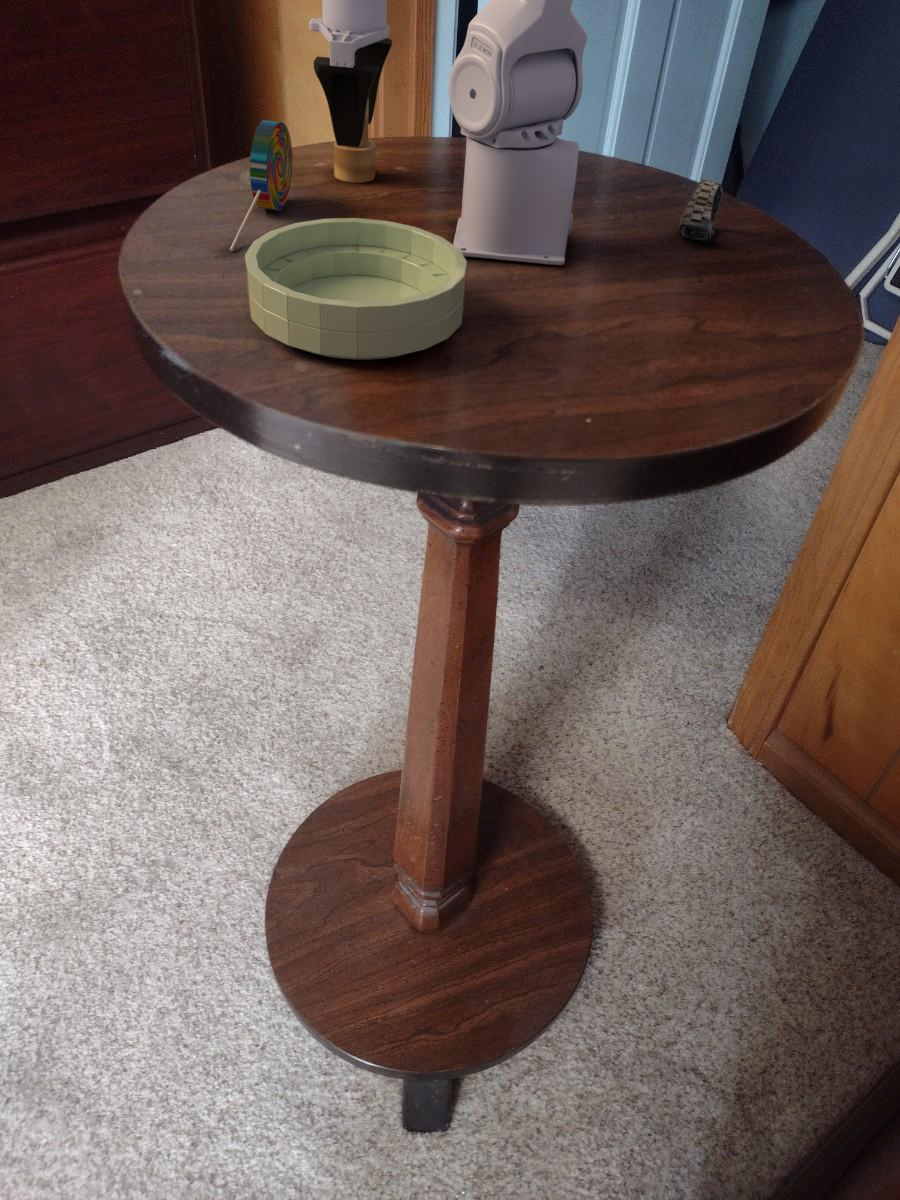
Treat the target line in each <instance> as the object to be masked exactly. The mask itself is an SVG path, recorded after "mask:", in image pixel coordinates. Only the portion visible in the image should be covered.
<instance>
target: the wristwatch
mask: <svg viewBox="0 0 900 1200" xmlns="http://www.w3.org/2000/svg"><path fill="white" fill-rule="evenodd" d="M722 185H723V184H722V182H717V181H713V180H708V179H707V178H703V179H701V181H700V183H699V184H698V186H697V187H696V189H695V191H694V193H693V194H692V196H691V197H690V200H688V203H687V204H686V206H687V207H686V208H685V209H684V211H683V213H682V215H681V218H680V221H679V226H678V233H679V236H680V238H682V239H685V240H688V241H694V242H700V243H708V242H709V241H710V240H711V239H712V236H714V235H715V229H713V225H714V222H715V219H716V215H717V213H718V212H719V211H720V207H721V206H722V204H723V201H722V199H723V198H722V197H723V193H724V189H723V187H722Z"/></svg>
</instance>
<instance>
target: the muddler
mask: <svg viewBox="0 0 900 1200" xmlns="http://www.w3.org/2000/svg"><path fill="white" fill-rule="evenodd" d="M368 106H369V97H368V102H367V107H366V113H365V121H364V128H363V134H362V139H361V142H360V145H359V147H349V146H339V145H337V143H336V140H335V141H333V176H334V177H335V178H336V179H337V180H339V181H342V182H345V183H354V184H361V183H368V182H371V181H373V180H374V179H375V178H376V143H375V142H374V141H372V140H370V139H369V124H368Z"/></svg>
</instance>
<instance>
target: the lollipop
mask: <svg viewBox="0 0 900 1200" xmlns="http://www.w3.org/2000/svg"><path fill="white" fill-rule="evenodd" d="M292 146H293V145H292V138H291V135H290V131H289V129H288V127H287V125H286V124H285V123H284V122H281V121H276V120H275V121H274V120H266V119H264V120H262V121H260V123H259V124H258V125H257V127H256V129H255V132H254V134H253V138H252V143H251V149H250V156H249V180H250V188H251V192H252V198H253V201H252V203H251V205H250V207H249V209H248V211H247V213H246V215H245V217H244V219H243V221H242V223H241V225H240V227H239V229H238V231H237V233H236V235H235V237H234V240H233V241H232V244H231V245H230V248H229V252H233V251H234V249H235V248H236V245H237V243H238V241H239V239H240V237H241V235H242V232H243V231H244V228H245V227H246V225H247V222H248V220H249V218H250V216H251V214H252V211H253V210H254V208H255V205H256V206H257V207H258V208H259V209H263V210H271V211H281V210H282V209H283V208H284V206H285V205H286V202H287V200H288V197H289V194H290V191H291V185H292V177H293V164H294V163H293V159H294V158H293V147H292Z"/></svg>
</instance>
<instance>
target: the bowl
mask: <svg viewBox="0 0 900 1200" xmlns="http://www.w3.org/2000/svg"><path fill="white" fill-rule="evenodd" d="M244 264H245V265H244V266H245V278H246V279H245V280H246V291H247V292H246V293H247V303H248V309H249V315H250V319H251V321H252V322H254V324H255V325H256V326H257V327H258V328H259V329H260V330H261V331H262V332H263V333H264V334H265V335H266V336H268V337H270V338H272V339H274V340H276V341H278V342H280V343H282V344H284V345H286V346H288V347H291V348H296V349H300V350H301V351H305V352H307V353H311V354H315V355H317V356H318V355H319V356H323V357H327V358H334V359H342V360H356V361H357V360H360V361H362V360H363V361H364V360H366V361H367V360H381V359H382V360H383V359H390V358H396V357H401V356H405V355H408V354H412V353H415V352H420V351H424V350H427V349H429V348H432V347H433V346H436V345H437V344H439V343H441V342H443V341H446V340H448V339H449V338H451V336H452V335H453V334H454V333H455V332H456V331H457V330H458V329H459V328H460V327H461V326H462V322H463V318H464V317H463V316H464V312H465V298H466V286H467V275H468V274H467V272H468V261H467V259H466V258H465V256H463V254H462V253H461V251H460V249H458V248H457V247H456V246H454V245H453V243H451V242H450V241H449V240H447V239H446V238H444V237H442V236H441V235H438V234H435V233H433V232H430V231H427V230H425V229H422V228H420V227H417V226H412V225H409V224H403V223H400V222H394V221H390V220H381V219H373V218H372V219H371V218H360V217H336V218H335V217H334V218H333V217H332V218H319V219H313V220H307V221H300V222H294V223H291V224H288V225H284V226H282V227H279V228H276V229H273V230H269V231H268V232H266V233H265V234H263V235H262V236H260V237H258V238H257V239H255V240H253V241H252V243H251V244H250V246H249V248H248V249H247V251H246V252H245V254H244Z"/></svg>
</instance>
